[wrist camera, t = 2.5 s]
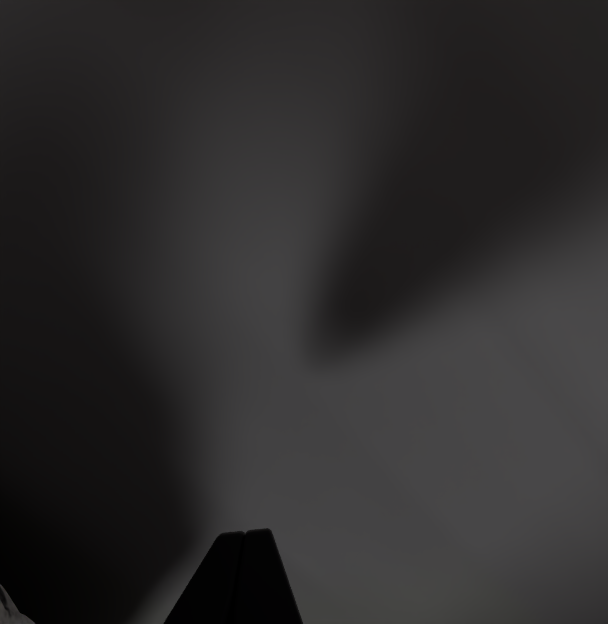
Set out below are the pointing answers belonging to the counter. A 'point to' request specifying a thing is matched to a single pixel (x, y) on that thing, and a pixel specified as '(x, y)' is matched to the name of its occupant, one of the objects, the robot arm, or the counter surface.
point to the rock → (10, 611)
